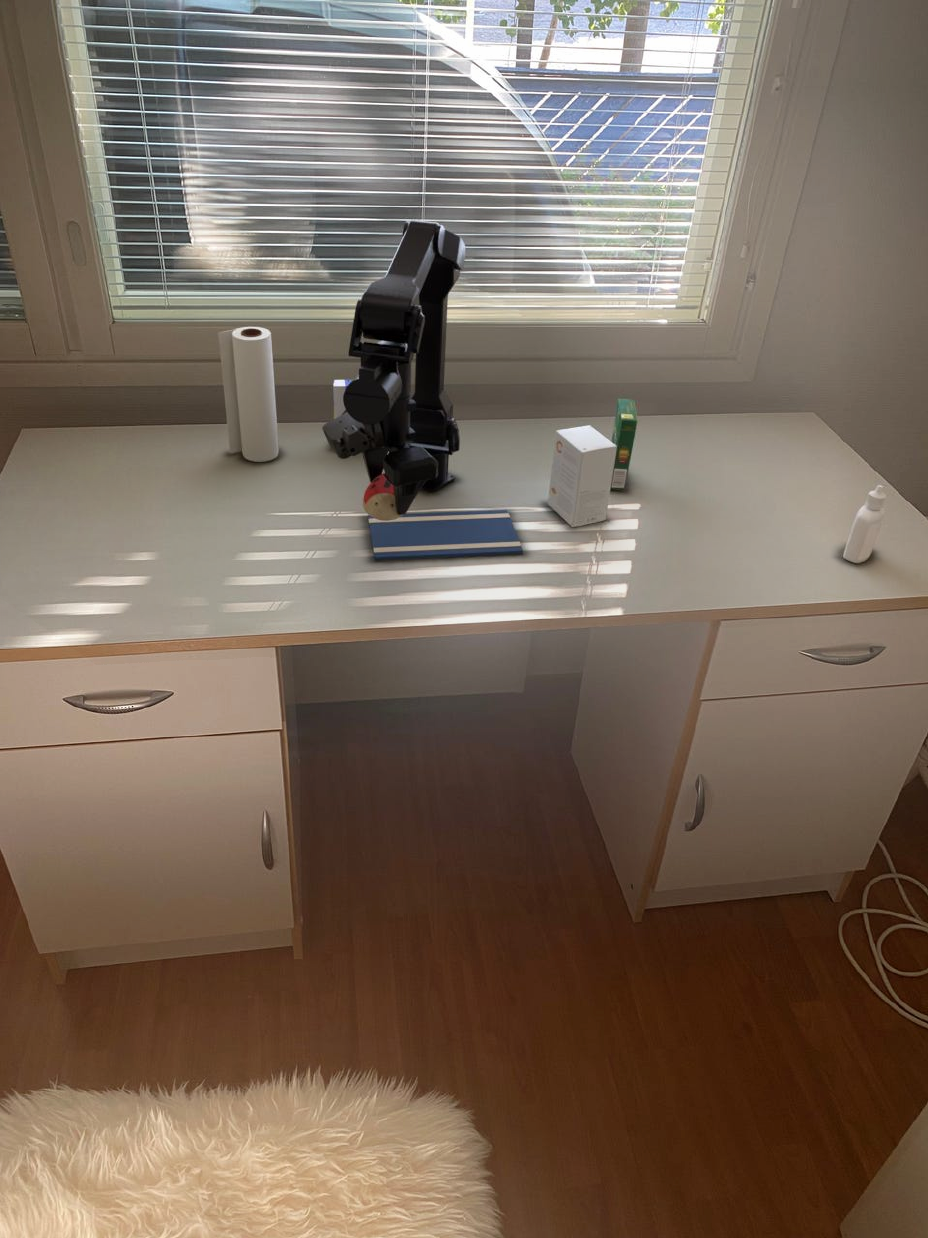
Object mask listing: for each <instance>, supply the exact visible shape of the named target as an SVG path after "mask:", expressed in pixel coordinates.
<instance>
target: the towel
mask: <svg viewBox="0 0 928 1238" xmlns="http://www.w3.org/2000/svg"><path fill="white" fill-rule="evenodd" d="M367 521H368V528H369V534H370V539H371V546H372V552H373V553H372V554H373V557H374V559H373V560H374V561H375V562H376V561H377V562H378V561H398V560H421V559H443V558H462V557H484V556H485V557H487V556H507V555H508V556H509V555H523V554H524V550H523V546H522V544H521V541H520V540H519V537H518V535H517V532H516V529H515V527H514V524H513V522H512V519H511V515H510V513H509V511H508V509H501V510H500V509H499V510H473V511H472V510H471V511H452V512H451V511H449V512H447V511H445V512H421V513H419V512H418V513H406V514H404V515H402V516H401V517H399V518H397V519H394V520H388V521H384V520H378V519H375V518H373V517H371V516H370V515H368V514H367Z"/></svg>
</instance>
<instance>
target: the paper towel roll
mask: <svg viewBox="0 0 928 1238" xmlns="http://www.w3.org/2000/svg"><path fill="white" fill-rule="evenodd" d="M217 334H218V344H219V353H220V363H221V364H220V366H221V374H222V384H223V392H224V393H223V395H224V405H225V414H226V415H225V416H226V425H227V426H226V427H227V434H228V435H227V436H228V437H227V438H228V445H229V454H234V453H238V452H241V453H242V456H243V457H244V459H246V460H248V461H251V462H257V463H263V462H264V463H265V462H270V461H272V460H275V459H276V458H278V455H279V453H280V451H279V450H280V449H279V434H278V420H277V418H278V417H277V406H276V404H277V403H276V390H275V389H276V388H275V375H274V374H275V372H274V360H273V359H274V357H273V345H272V344H273V343H272V332H271V331H270V330H269V329H267V328H265V327H260V326H244V327H236V328H232V329H229V330H225V331H218V333H217Z"/></svg>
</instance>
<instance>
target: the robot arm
mask: <svg viewBox="0 0 928 1238" xmlns="http://www.w3.org/2000/svg"><path fill="white" fill-rule="evenodd" d="M465 261H466V245H465V242H464V240H463V239H462V237H461V236H460V235H458V234H456V233H454V232H451V231H450V230H447V229H446V228H445V227H444V225H442V224H439V223H438V222H434V221H427V220H416V219H415V220H414V219H410V220H409V221H405V222H404V225H403V228H402V233H401V240H400V243H399V244H398V247H397V250H396V252H395V254H394V256H393V258H392V260H391V262H390V265H389V267H388V269H387V271H386V274H385V276H384V277H382V278H379V279H377V280H375V281H372V282H371V283H370V284H369V285H368V286H367V288H366V289H365V291H364V292H363V294H362V296H361V298H359V299H358V300H357V302H356V305H355V309H354V317H353V322H352V329H351V334H350V341H349V346H348V347H349V348H348V357H352V358H360V367H359V368H358V371H357V373H356V374H355V375H354V376H353V378H352V379H351V380H352V381H351V382H350V383H349V385H348V386H347V388H346V389H345V392H344V395H343V402H344V406H345V409H346V410H345V411H344V412H343V413H342V415H341V416H339V417H337V418H335V419H334V418H333V419H331V420H330V421H328V422H326V423H324V424H323V426H322V431H323V434H324V436H325V439H326V441H327V442H328V445H329V448H330V450H332V451H333V452H334V453H335V454H336V456H337V457H338V458H339V459H341V460H345V459H349V458H350V457H356V456H358V455H360V454H361V455H362V459H363V462H364V466H365V469H366V472H367V476H368V479H369V484H370V483H371V482H372V481H373V480H374V479H375V478H376V477H378V476H379V475H381V474H383V475H384V477H385V478H386V479H387V480H388V481H389V482H390V483H391V484H392V485H393V489H394V496H395V504H396V509H397V514H398V515H403V514H407V512H408V511H409V510H408V509H410V508H411V506H410V505H412V504H413V502H414V500H415V498H416V497H417V496H418V493H419V492H420V490H421V489H422V490H424V491H426V492H429V493H433V492H435V491H437V490H439V489H441V488H443V487H444V486H446V485H447V484H449V483H451V482H453V481H455V480H456V476H455V475H454V474H451V473H449V461H450V460H449V458H450V456H453V454H454V453H456V452H459V451H460V447H461V446H460V445H461V444H460V443H461V438H460V437H461V436H460V430H459V426H458V423H457V419H456V418H454V404H453V402H452V401H451V399H450V397H449V395H448V393H447V391H446V390H445V388H444V387H445V370H446V369H445V367H446V346H447V345H446V344H447V326H448V325H447V324H448V323H447V322H448V302H449V294H450V292H451V291H452V289H453V287H454V286H455V285H456V283H457V281H458V280H459V278H460V276H461V271H463V269H464V265H465ZM362 337H363V339H365V340H372V341H378V342H377V343H376V342H369V341H361V340H362ZM414 357H415V365H414V367H415V368H414V369H415V371H414V372H415V373H414V393H413V395H412V396H411V391H412V390H411V389H412V388H411V387H412V361H413V360H414ZM383 472H384V473H383ZM409 507H410V508H409ZM407 510H408V511H407Z"/></svg>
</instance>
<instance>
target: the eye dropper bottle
mask: <svg viewBox="0 0 928 1238" xmlns="http://www.w3.org/2000/svg"><path fill="white" fill-rule="evenodd" d="M883 488H884V486H883V485H881V484H878V485H877V486H876V488H875V490H871V491H869V492H868V495H867V497H866V500H865V503H864V505H862V506H861V507H860V508H859V510H858V511H857V513H856V515H855V518H854V521H853V524H852V527H851V530H850V534H849V536H848V539H847V542H846V545H845V547H844V551H843V556H842V557H843V559H844V560H847V561H849V562H851V563H854V564H860V563H863V562H865V561H866V560H868V559H869V558H870V556H871V554H872V552H873V549H874V546H875V544H876V540H877V538H878V536H879V535H878V534H879V532H880V529H881V527H882V525H883V524H882V523H883V521H884V518H885V515H886V514H885V513H886V511H885V508H884V504H885V501H886V498H887V495H886V494H885V492H883Z"/></svg>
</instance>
